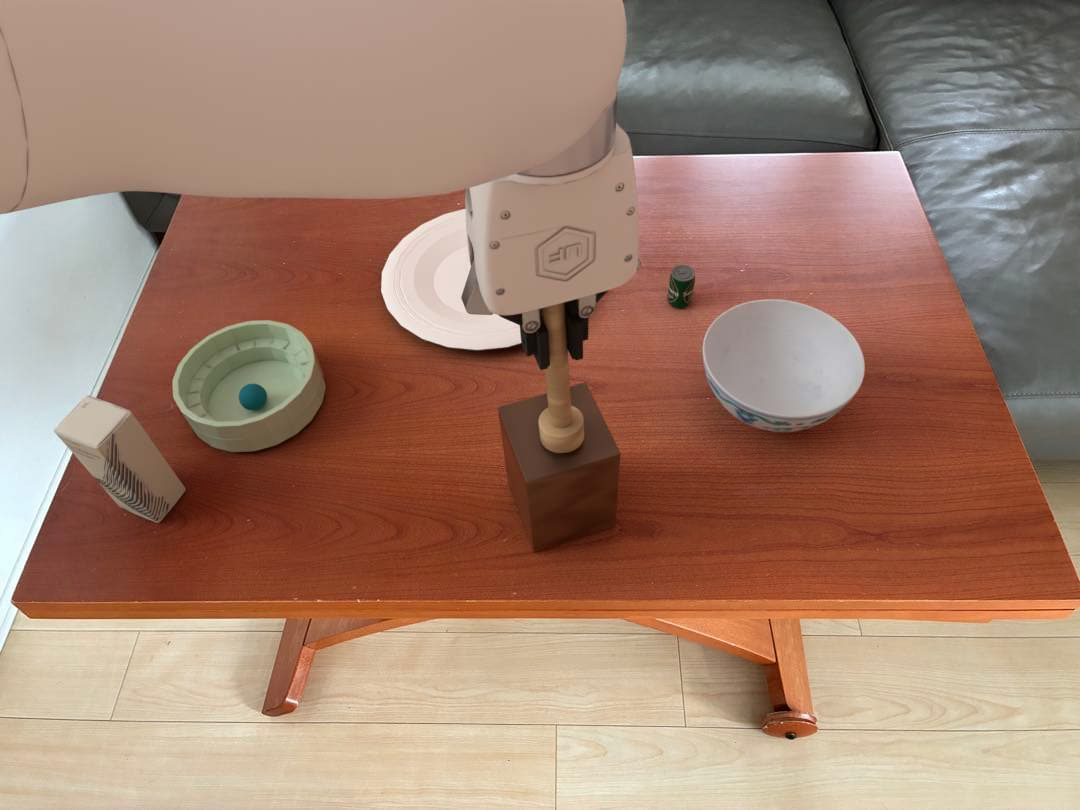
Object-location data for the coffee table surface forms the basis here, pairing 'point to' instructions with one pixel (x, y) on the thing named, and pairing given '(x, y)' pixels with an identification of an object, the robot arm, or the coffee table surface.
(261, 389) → the ball
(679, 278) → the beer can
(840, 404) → the chinaware
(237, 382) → the bowl
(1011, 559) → the coffee table surface
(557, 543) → the stand
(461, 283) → the plate
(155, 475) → the box
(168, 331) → the coffee table surface
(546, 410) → the stick
